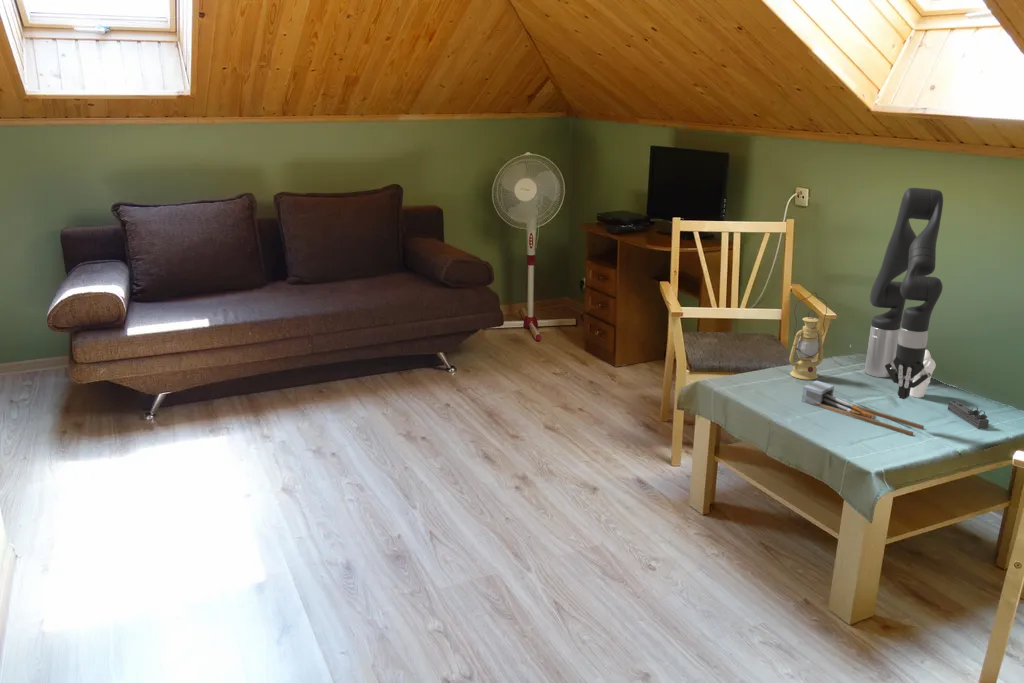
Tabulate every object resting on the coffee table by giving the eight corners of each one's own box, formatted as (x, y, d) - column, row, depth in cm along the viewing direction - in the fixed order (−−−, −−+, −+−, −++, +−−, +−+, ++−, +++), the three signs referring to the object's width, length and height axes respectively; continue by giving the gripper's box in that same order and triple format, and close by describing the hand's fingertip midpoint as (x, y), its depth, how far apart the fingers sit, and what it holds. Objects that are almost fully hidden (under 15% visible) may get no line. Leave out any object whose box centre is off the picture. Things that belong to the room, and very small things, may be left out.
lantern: (792, 381, 281) (802, 297, 272) (782, 371, 291) (791, 289, 281) (826, 380, 282) (837, 296, 272) (815, 370, 291) (825, 289, 282)
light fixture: (956, 410, 258) (959, 394, 256) (987, 429, 244) (990, 412, 242) (947, 410, 258) (950, 394, 256) (977, 429, 244) (980, 412, 242)
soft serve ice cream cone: (905, 398, 266) (912, 352, 261) (900, 389, 274) (907, 344, 269) (933, 401, 264) (941, 354, 259) (927, 391, 272) (934, 346, 267)
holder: (814, 395, 269) (816, 380, 267) (923, 428, 244) (926, 412, 242) (801, 401, 264) (803, 386, 262) (911, 435, 239) (914, 419, 237)
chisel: (877, 415, 249) (871, 413, 248) (873, 424, 250) (867, 421, 248) (829, 394, 266) (823, 392, 264) (825, 402, 266) (819, 400, 264)
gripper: (941, 345, 235) (931, 401, 240) (895, 334, 244) (886, 388, 250) (929, 351, 230) (919, 408, 236) (883, 340, 239) (875, 394, 245)
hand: (902, 398), depth 243 cm, fingers closed
